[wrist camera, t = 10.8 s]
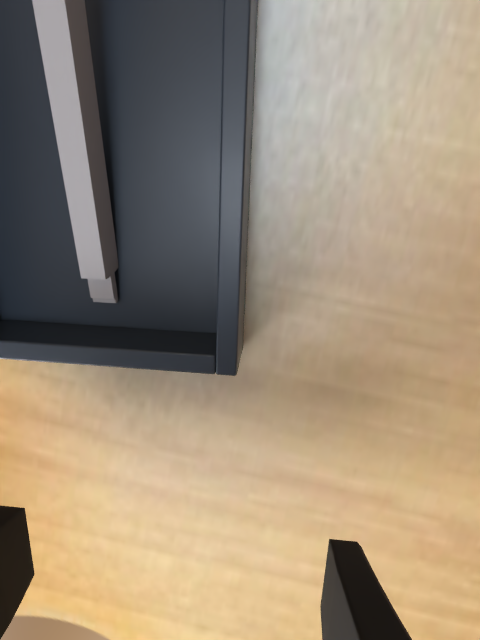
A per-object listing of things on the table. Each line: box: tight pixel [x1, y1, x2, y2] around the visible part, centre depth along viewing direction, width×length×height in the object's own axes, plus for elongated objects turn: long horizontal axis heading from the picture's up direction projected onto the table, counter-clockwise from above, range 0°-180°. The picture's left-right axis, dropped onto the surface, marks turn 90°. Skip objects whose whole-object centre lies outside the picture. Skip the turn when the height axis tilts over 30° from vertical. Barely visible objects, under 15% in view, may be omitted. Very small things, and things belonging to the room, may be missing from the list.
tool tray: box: [0, 0, 258, 376], centre depth 13 cm, size 12×25×3 cm, turn 178°
